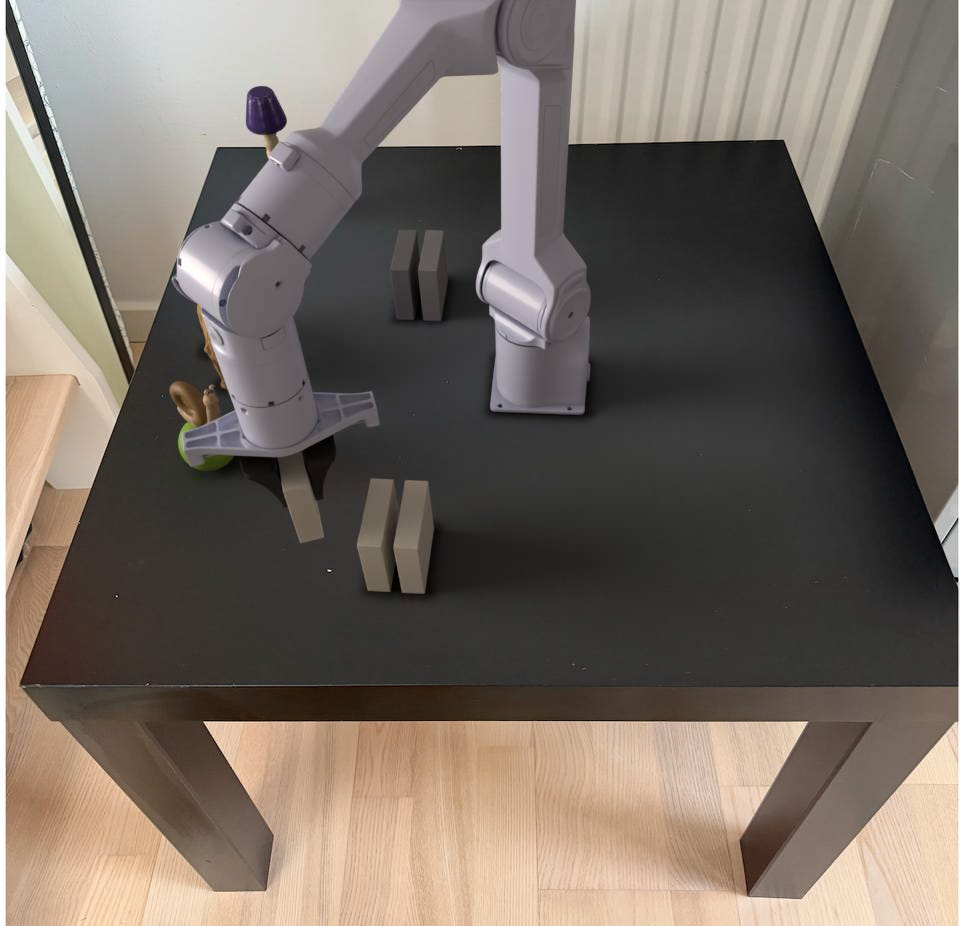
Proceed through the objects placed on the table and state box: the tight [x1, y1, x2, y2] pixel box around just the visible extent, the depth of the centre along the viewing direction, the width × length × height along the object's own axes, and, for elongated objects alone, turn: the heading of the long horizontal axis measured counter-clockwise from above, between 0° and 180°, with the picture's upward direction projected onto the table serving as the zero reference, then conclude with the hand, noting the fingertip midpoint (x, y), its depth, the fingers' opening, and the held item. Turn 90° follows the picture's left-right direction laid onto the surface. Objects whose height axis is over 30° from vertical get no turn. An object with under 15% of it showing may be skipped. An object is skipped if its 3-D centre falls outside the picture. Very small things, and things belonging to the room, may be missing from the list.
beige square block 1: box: [356, 478, 400, 593], centre depth 78 cm, size 2×7×7 cm, turn 175°
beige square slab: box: [277, 450, 325, 544], centre depth 74 cm, size 2×7×7 cm, turn 15°
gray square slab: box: [418, 229, 449, 322], centre depth 100 cm, size 2×7×7 cm, turn 175°
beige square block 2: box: [394, 479, 435, 595], centre depth 78 cm, size 2×7×7 cm, turn 175°
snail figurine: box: [169, 380, 235, 472], centre depth 84 cm, size 5×6×12 cm
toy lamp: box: [245, 85, 288, 160], centre depth 108 cm, size 5×5×17 cm
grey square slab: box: [389, 229, 421, 321], centre depth 101 cm, size 2×7×7 cm, turn 175°
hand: (302, 494), depth 75 cm, fingers closed on beige square slab, 2 cm apart
